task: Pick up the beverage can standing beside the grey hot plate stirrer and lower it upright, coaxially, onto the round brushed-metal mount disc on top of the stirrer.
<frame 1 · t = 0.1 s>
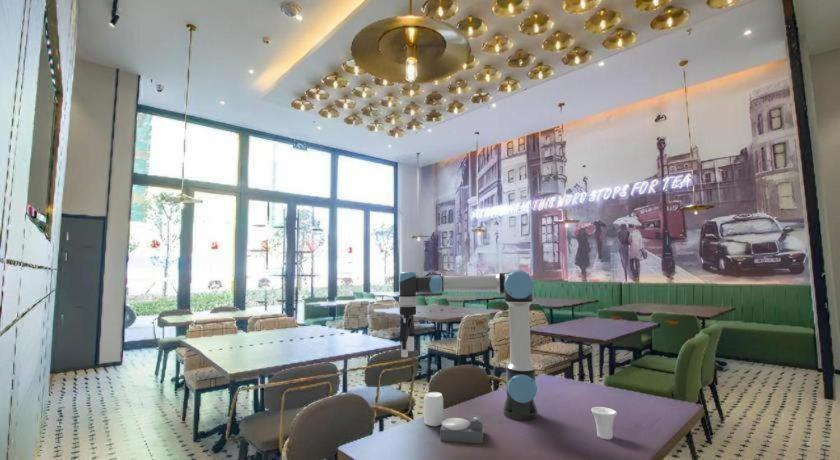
hand: (407, 353, 176), 28 cm above the table, fingers open, 13 cm apart
cup: (605, 437, 153), on the table
grey hot plate stirrer: (462, 436, 154), on the table
beverage can: (433, 424, 167), on the table
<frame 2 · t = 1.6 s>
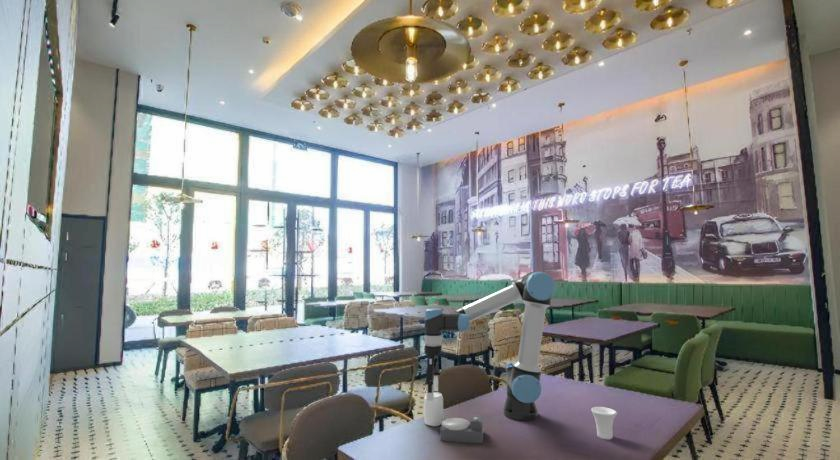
hand: (432, 395, 169), 12 cm above the table, fingers open, 13 cm apart
nothing on the table moved.
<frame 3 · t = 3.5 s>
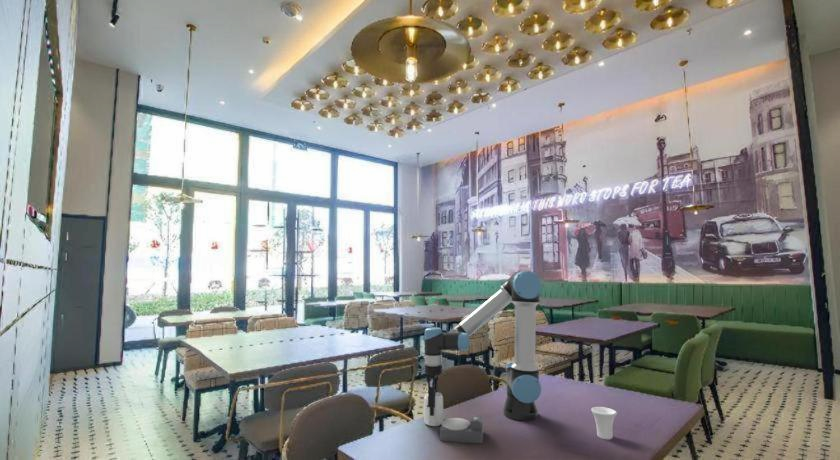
hand: (433, 419, 167), 2 cm above the table, fingers closed on beverage can, 8 cm apart
beverage can: (433, 424, 167), on the table, touching gripper
everything else where it was.
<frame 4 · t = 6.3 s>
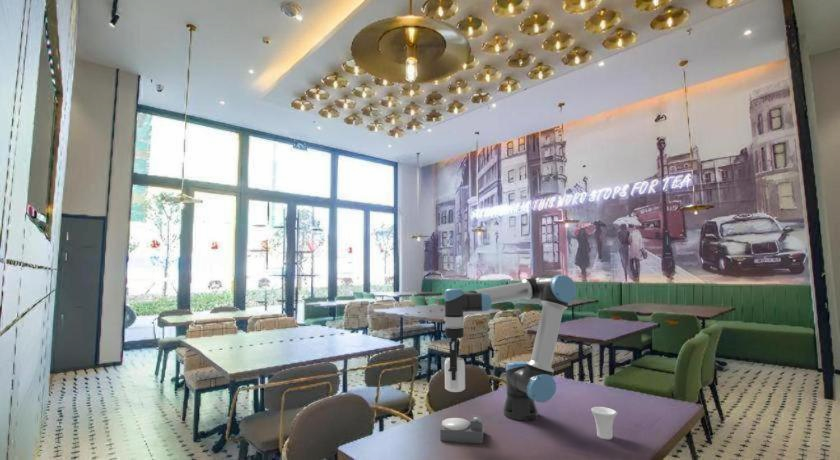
hand: (455, 385, 157), 19 cm above the table, fingers closed on beverage can, 8 cm apart
beverage can: (455, 390, 157), point 17 cm above the table, touching gripper
everything else where it was.
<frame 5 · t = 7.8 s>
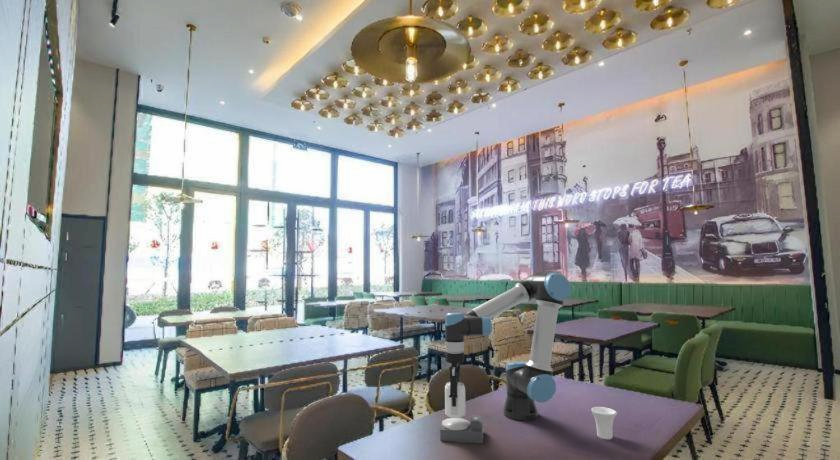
hand: (455, 410, 156), 9 cm above the table, fingers closed on beverage can, 8 cm apart
beverage can: (455, 415, 155), point 7 cm above the table, touching gripper
everything else where it was.
when the fingers open (8 cm above the table, at t = 9.1 s): beverage can drops 1 cm, resting on grey hot plate stirrer.
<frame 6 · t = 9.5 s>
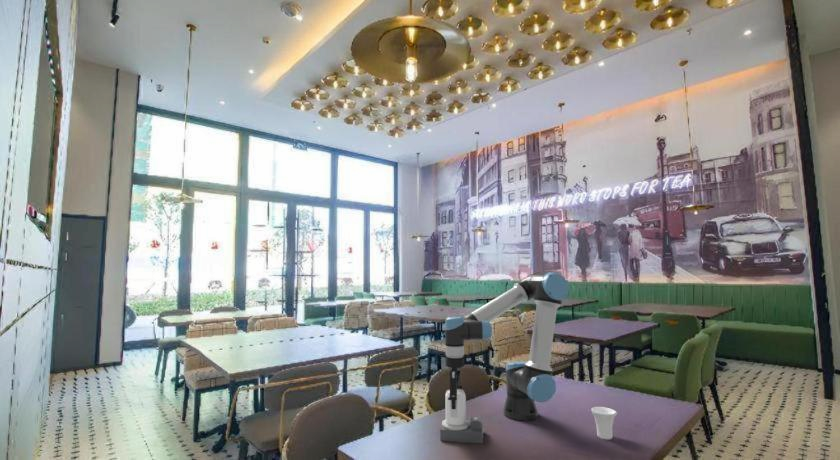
hand: (455, 411, 156), 9 cm above the table, fingers open, 13 cm apart
beverage can: (455, 423, 155), point 5 cm above the table, touching grey hot plate stirrer
everything else where it was.
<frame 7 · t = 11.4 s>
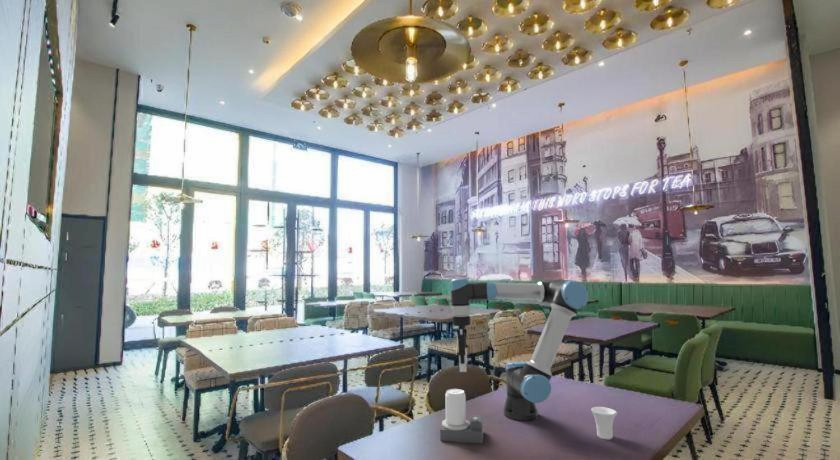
hand: (463, 367, 163), 25 cm above the table, fingers open, 13 cm apart
nothing on the table moved.
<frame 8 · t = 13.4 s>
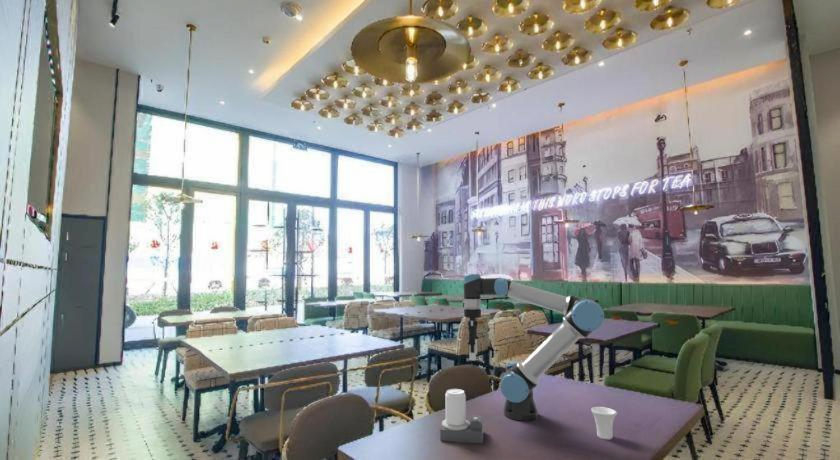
hand: (473, 357, 174), 27 cm above the table, fingers open, 13 cm apart
nothing on the table moved.
at the end: beverage can 0.0 cm from the target spot on the grey hot plate stirrer, point 4.6 cm above the grey hot plate stirrer's base; beverage can tilted 0°; beverage can touching grey hot plate stirrer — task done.
